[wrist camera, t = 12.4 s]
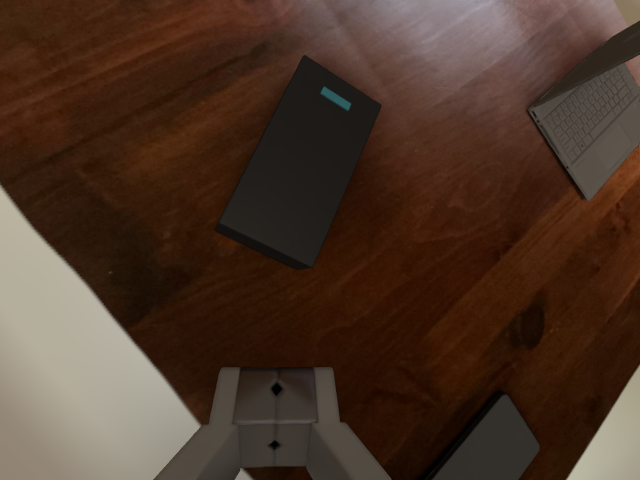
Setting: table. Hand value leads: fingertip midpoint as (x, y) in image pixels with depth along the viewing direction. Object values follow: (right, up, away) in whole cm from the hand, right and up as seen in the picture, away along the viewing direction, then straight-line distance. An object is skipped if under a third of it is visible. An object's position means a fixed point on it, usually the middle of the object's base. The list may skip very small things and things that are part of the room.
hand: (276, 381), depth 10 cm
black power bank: (-3, +3, +16) cm, 17 cm away
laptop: (+34, +18, +33) cm, 51 cm away
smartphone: (+14, -17, +22) cm, 31 cm away
